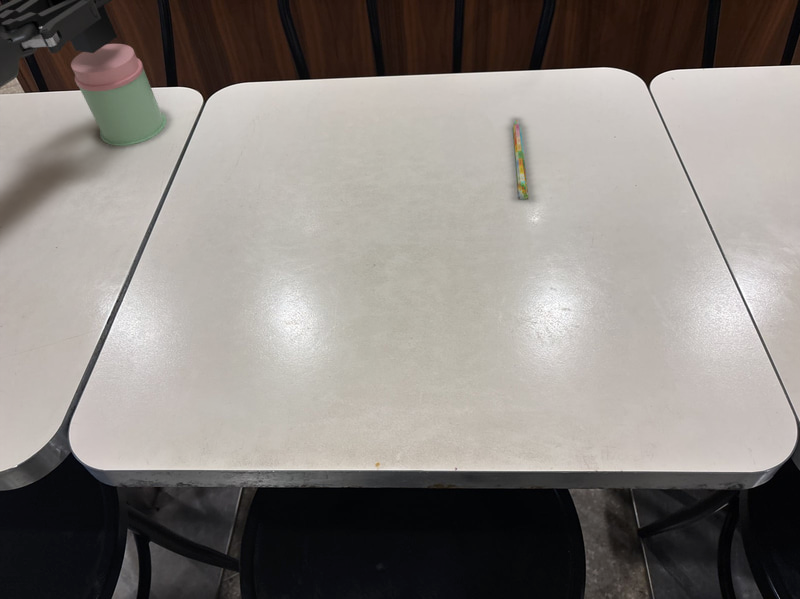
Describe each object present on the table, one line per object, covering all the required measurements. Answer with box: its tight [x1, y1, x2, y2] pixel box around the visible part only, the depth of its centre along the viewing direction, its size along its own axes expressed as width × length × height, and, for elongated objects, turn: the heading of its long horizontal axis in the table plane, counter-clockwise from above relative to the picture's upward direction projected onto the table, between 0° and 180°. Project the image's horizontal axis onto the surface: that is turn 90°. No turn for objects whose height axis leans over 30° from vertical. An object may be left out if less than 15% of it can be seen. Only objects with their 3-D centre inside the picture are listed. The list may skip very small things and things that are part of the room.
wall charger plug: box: [51, 0, 118, 53], centre depth 78 cm, size 3×5×10 cm, turn 158°
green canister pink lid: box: [70, 43, 168, 147], centre depth 87 cm, size 10×10×12 cm
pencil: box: [512, 118, 530, 201], centre depth 80 cm, size 1×1×18 cm
